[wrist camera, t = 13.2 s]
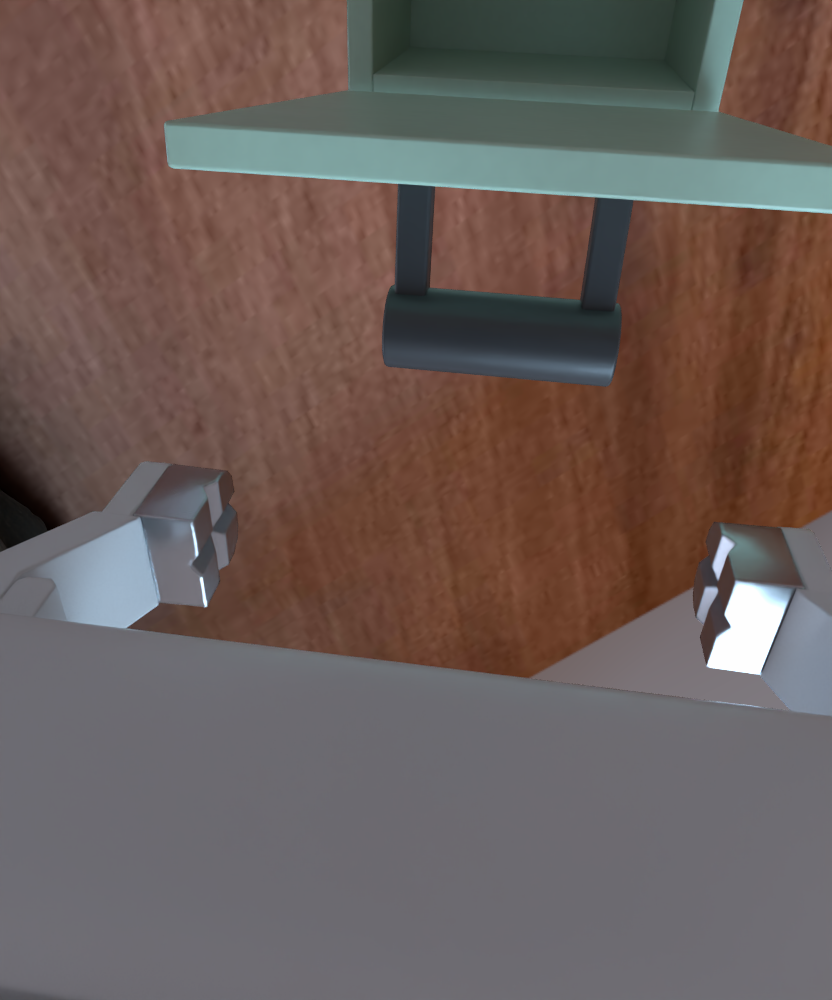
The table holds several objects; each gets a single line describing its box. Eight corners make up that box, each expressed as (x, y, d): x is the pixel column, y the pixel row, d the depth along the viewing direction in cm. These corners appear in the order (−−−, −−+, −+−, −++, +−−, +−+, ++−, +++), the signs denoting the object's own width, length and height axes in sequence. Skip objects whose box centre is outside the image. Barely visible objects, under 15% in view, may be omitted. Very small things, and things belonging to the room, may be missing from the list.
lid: (161, 121, 14) (188, 382, 17) (906, 167, 13) (817, 442, 16) (345, 90, 28) (345, 237, 30) (721, 111, 27) (689, 263, 29)
